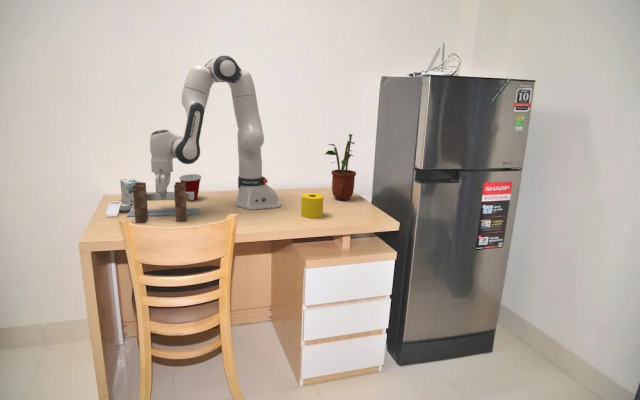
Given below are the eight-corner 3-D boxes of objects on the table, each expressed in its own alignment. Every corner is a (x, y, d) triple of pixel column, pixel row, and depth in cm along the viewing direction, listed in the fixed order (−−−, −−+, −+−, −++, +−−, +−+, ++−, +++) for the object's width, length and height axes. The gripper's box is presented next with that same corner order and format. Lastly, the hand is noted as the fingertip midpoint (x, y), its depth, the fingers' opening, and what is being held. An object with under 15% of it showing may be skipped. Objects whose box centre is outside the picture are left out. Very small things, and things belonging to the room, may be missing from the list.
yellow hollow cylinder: (299, 217, 191) (299, 197, 189) (303, 211, 201) (303, 192, 198) (320, 219, 190) (321, 199, 187) (323, 213, 199) (324, 194, 197)
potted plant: (353, 196, 232) (358, 133, 222) (355, 204, 217) (360, 136, 207) (322, 194, 232) (325, 131, 222) (321, 202, 217) (325, 134, 207)
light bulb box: (144, 203, 201) (142, 181, 198) (129, 206, 197) (127, 183, 194) (135, 198, 209) (133, 177, 206) (121, 200, 204) (119, 179, 201)
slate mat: (199, 209, 196) (199, 208, 196) (198, 215, 188) (198, 213, 188) (131, 210, 189) (131, 209, 189) (126, 217, 181) (126, 215, 181)
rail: (194, 198, 191) (194, 191, 190) (193, 199, 188) (193, 193, 188) (133, 199, 185) (132, 192, 185) (131, 200, 183) (131, 194, 182)
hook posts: (186, 217, 184) (185, 182, 180) (185, 221, 179) (184, 185, 174) (138, 218, 180) (135, 182, 176) (135, 223, 174) (132, 185, 170)
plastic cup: (175, 200, 208) (174, 177, 205) (188, 195, 218) (187, 173, 215) (193, 203, 205) (193, 179, 202) (206, 198, 215) (205, 175, 212)
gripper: (166, 172, 174) (168, 204, 178) (172, 163, 193) (173, 192, 197) (150, 172, 173) (152, 204, 176) (157, 163, 192) (159, 192, 195)
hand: (163, 197), depth 187 cm, fingers closed on rail, 3 cm apart
